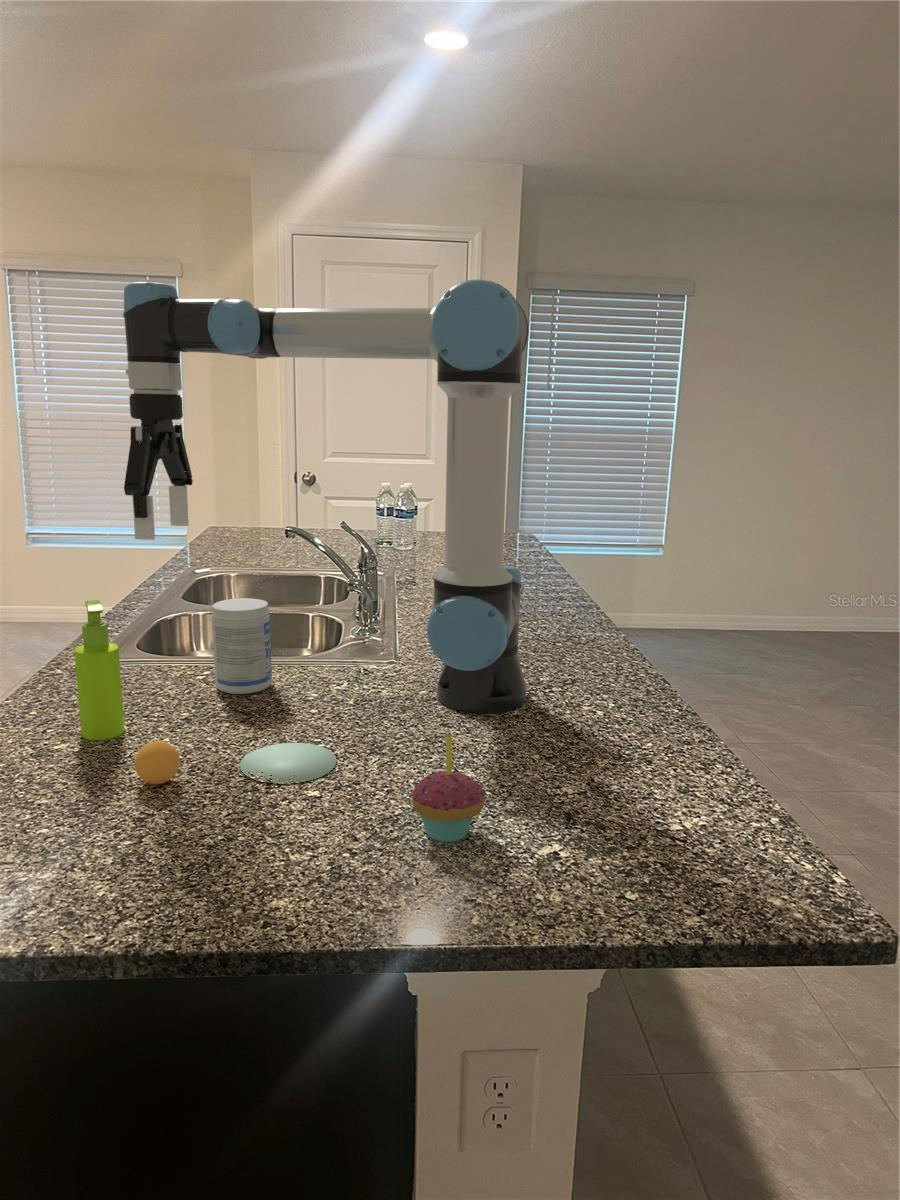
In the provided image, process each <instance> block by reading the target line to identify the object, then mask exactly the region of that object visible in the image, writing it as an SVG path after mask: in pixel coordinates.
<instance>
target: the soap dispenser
mask: <svg viewBox="0 0 900 1200" xmlns="http://www.w3.org/2000/svg"><path fill="white" fill-rule="evenodd" d="M84 604H85V608H86V611H87V612H86V613H87V621H85V623H83V624H82V625H81V629H82V630H81V631H82V642H83V643H82V645H79V646H77V647H76V648H74V651H73V652H74V661H75V671H76V672H75V673H76V684H77V697H78V698H77V699H78V707H79V708H78V709H79V719H80V720H79V721H80V731H81V733H80V734H81V737H82V738H83V739H85V740H90V741H107V740H109V739H110V740H111V739H114V738H117V737H120V736H121V735H122V734H124V732H125V719H124V704H123V703H124V702H123V691H122V690H123V689H122V677H121V676H122V675H121V664H120V648H119V645H118V644H117V643H113V642H110V639H109V638H110V637H109V626H108V625H109V624H108V623H107V622H106V621H103V620H102V619H101V614H103V613H104V609H103V605H102V602H101V600H99V599H97V600H95V599H94V600H84Z"/></svg>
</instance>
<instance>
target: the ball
mask: <svg viewBox="0 0 900 1200" xmlns="http://www.w3.org/2000/svg"><path fill="white" fill-rule="evenodd" d="M180 763H181V760H180V754H179V751H178V750H177V749H176V747H174V746H173V745H172V744H171V743H169V742H167V741H163V740H154V741H150V742H148V743H147V744H145V745H143V746H142V747H140V749H139V750H138V752H137V753H136V756H135V759H134V769H135V772H136V774H137V776H138V778H140V779H141V780H142V781H144V782H146V783H147V784H150V785H162V784H165V783H167V782H168V781H170V780H172V779H173V778H174V777H175V776H176V774H177V773H178V771H179V768H180V766H181V765H180Z"/></svg>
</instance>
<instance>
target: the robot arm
mask: <svg viewBox="0 0 900 1200" xmlns="http://www.w3.org/2000/svg"><path fill="white" fill-rule="evenodd" d="M122 316H123V318H124V329H125V330H124V331H125V341H126V353H127V359H126V360H127V368H126V370H125V374H126V375H127V376H128V388H129V389H130V390H133V393H130V395H129V396H128V397H129V398H128V399H129V413H130V417H131V418H132V419H133V420H140V421H141V423H140V426H137V425H136V426H133V425H132V426H131V427H130V444H129V445H130V446H129V450H128V451H129V452H128V457H127V465H126V471H125V477H124V478H125V479H124V484H123V485H124V486H123V491H124V494H125V496H132V497H131V498H132V510H133V511H132V512H133V513H132V514H133V524H134V525H133V526H134V540H143V541H146V540H147V541H148V540H149V541H153V540H156V533H155V515H154V502H153V501H154V499H153V495H150V493H151V492H150V491H151V488H152V485H153V481H154V477H155V474H156V473H155V472H156V469H157V465H158V462H159V460H160V459H161V462H162V464H163V466H164V469H165V471H166V474H167V476H168V479H169V480H170V483H171V484H170V485H168V497H169V498H168V500H169V516H170V526H175V527H176V526H177V527H178V526H179V527H189V525H190V524H189V509H188V507H189V506H188V505H189V504H188V489H187V488H188V486H192V485H193V482H194V481H193V475H192V470H191V466H190V465H191V464H190V461H189V458H188V453H187V448H186V446H185V441H184V440H185V439H184V437H183V436H184V435H183V426H182V424H181V423H173V421H175V420H176V421H178V420H181V419H183V416H184V414H183V397H182V396H181V395H180V394H179V392H180V391H182V390H183V385H182V369H181V353H208V354H222V355H229V356H231V355H232V356H241V357H247V358H249V359H260V360H261V359H262V360H263V359H267V358H307V359H308V358H316V359H317V358H321V359H322V358H323V359H325V358H326V359H327V358H328V359H378V360H379V359H384V360H387V359H388V360H389V359H390V360H394V359H395V360H397V359H398V360H434V361H435V362H437V379H436V381H437V386H438V387H439V388H440V389H441V390H442V391H443V392H444V393H445V394H446V397H447V419H446V422H447V426H446V428H447V430H446V468H445V469H446V473H445V475H446V476H445V477H446V479H445V480H446V481H445V519H444V520H445V522H444V523H445V525H444V528H445V529H444V530H445V531H444V562H443V563H444V564H443V565H441V567H440V568H439V569H437V571H435V572H434V574H433V575H434V576H433V602H432V603H433V605H432V606H433V607H432V610H431V612H430V615H429V617H428V620H427V623H426V636H427V641H428V645H429V647H430V649H431V651H432V652H433V653H434V655H435V656H436V657H437V658H438V659H439V660H440V661H442V662H443V666H442V669H441V673H440V675H439V678H438V681H437V684H436V685H437V687H436V690H437V691H436V697H437V700H439V702H440V703H441V704H443V705H445V706H447V707H449V708H452V709H455V710H459V711H462V712H470V713H477V714H478V713H480V714H482V713H483V714H490V713H493V714H494V713H495V714H496V713H502V712H508V711H512V710H515V709H518V708H520V707H522V706H523V705H524V704H525V703H526V700H527V685H526V681H525V676H524V673H523V669H522V666H521V663H520V659H519V656H518V654H519V652H518V651H519V650H518V649H519V634H520V633H519V632H520V631H519V628H520V612H521V611H520V607H521V605H520V604H521V589H522V587H523V583H522V574H521V573H522V572H521V570H520V569H519V568H518V567H516V566H513V565H507V564H506V565H505V564H503V563H504V545H505V544H504V541H505V540H504V539H505V516H506V515H505V514H506V513H505V512H506V511H505V510H506V491H507V489H506V487H507V460H508V459H507V457H508V456H507V455H508V437H509V436H508V431H509V430H508V429H509V405H510V404H509V403H510V398H511V396H512V395H513V394H514V393H515V392H516V391H517V390H518V389H519V388H520V387H521V376H522V355H523V353H524V351H525V349H526V346H527V344H528V339H529V331H530V330H529V322H528V318H527V315H526V312H525V310H524V308H522V306H521V304H520V303H519V302H518V301H517V299H516V298H515V297H514V296H513V294H512V293H511V291H509V290H508V289H507V288H506V287H504V286H503V285H501V284H499V283H496V282H494V281H491V280H485V279H469V280H465V281H461V282H459V283H457V284H455V285H454V286H452V287H451V288H449V289H448V290H447V291H446V292H445V293H444V294H443V295H442V297H440V299H439V301H438V302H437V304H436V306H435V307H433V308H432V307H429V308H428V307H421V308H420V307H416V308H415V307H411V308H410V307H407V308H406V307H401V308H400V307H393V308H391V307H389V308H387V307H381V308H379V307H378V308H377V307H376V308H375V307H373V308H372V307H366V308H365V307H364V308H363V307H361V308H357V307H355V308H354V307H344V308H343V307H341V308H340V307H339V308H338V307H335V308H334V307H331V308H330V307H326V308H325V307H324V308H323V307H322V308H321V307H317V308H315V307H314V308H313V307H311V308H310V307H306V308H305V307H304V308H303V307H301V308H300V307H297V308H296V307H294V308H293V307H288V308H287V307H286V308H285V307H282V308H277V307H276V308H275V307H254V305H253V304H252V303H251V302H250V301H249V300H246V299H236V298H230V297H223V298H180V297H179V296H178V291H177V289H176V288H175V286H173V285H171V284H169V283H168V284H167V283H161V282H148V281H145V282H144V281H138V282H137V281H133V282H130V283H128V284H126V286H125V287H124V290H123V313H122Z"/></svg>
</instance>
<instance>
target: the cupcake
mask: <svg viewBox="0 0 900 1200" xmlns="http://www.w3.org/2000/svg"><path fill="white" fill-rule="evenodd" d="M447 735H448V736H446V739H445V742H446V744H445V745H446V746H445V747H446V749H445V751H446V753H445V763H446V764H445V770H444V771H439V772H435V773H432V774H428V775H426V777H424V778H422V779H421V780H419V781H418V782H417V783H416V784H415V786H414V788H413V789H412V795H411V796H412V797H411V801H412V808H413V809H414V811H415V812H416V813H418V815H419V816H420V818H421V819H422V822H423V825H424V829H425V833H426V835H427V836H428V837H429V838H431V839H432V840H433V841H437V842H441V843H442V842H443V843H453V842H458V841H460V840H462V839H464V838H465V837H466V836H467V834H468V831H469V828H470V825H471V823H472V821H473V818H474V817H476V816H478V815H479V814H480V813H481V812H482V810H483V808H484V806H485V803H486V791H485V790H483V787H482V786H481V785H480V783H479V781H476V780H475V779H474V777H470V775H467V774H465V773H461V772H455V771H452V770H453V769H452V767H453V766H452V765H453V764H452V761H453V759H452V758H453V757H452V755H453V737H452V736H451V729H448V733H447Z"/></svg>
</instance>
